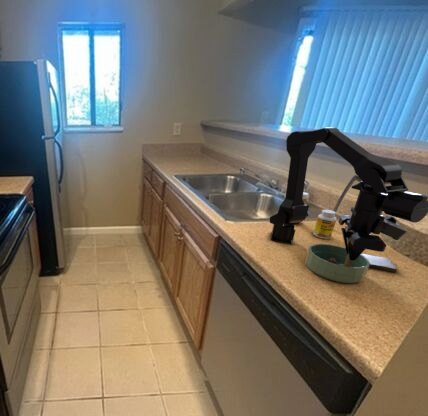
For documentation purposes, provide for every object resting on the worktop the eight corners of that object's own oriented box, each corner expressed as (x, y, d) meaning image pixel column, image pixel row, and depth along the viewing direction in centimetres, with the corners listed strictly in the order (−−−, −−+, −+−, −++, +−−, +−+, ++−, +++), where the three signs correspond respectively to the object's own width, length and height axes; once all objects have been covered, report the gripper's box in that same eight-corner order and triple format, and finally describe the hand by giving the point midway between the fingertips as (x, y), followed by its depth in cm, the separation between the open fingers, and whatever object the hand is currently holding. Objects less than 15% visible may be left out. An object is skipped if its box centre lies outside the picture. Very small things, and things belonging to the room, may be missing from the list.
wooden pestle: (338, 272, 82) (350, 239, 78) (335, 265, 85) (347, 233, 81) (356, 276, 80) (368, 242, 76) (352, 269, 83) (364, 236, 79)
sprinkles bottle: (302, 223, 117) (311, 193, 112) (297, 225, 115) (306, 195, 110) (291, 219, 121) (298, 190, 116) (286, 222, 118) (293, 192, 113)
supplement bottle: (315, 238, 104) (323, 213, 100) (310, 232, 109) (317, 208, 105) (333, 240, 102) (341, 214, 99) (327, 233, 107) (334, 209, 104)
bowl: (307, 276, 82) (312, 260, 80) (302, 254, 93) (306, 240, 91) (370, 290, 75) (377, 273, 73) (356, 265, 87) (361, 250, 85)
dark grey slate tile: (357, 264, 87) (358, 261, 87) (351, 254, 93) (352, 251, 92) (395, 272, 83) (397, 269, 82) (387, 261, 89) (388, 258, 88)
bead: (327, 264, 86) (329, 259, 85) (326, 261, 88) (328, 256, 87) (336, 266, 85) (337, 260, 84) (334, 263, 87) (336, 257, 86)
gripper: (425, 226, 64) (400, 282, 70) (395, 202, 79) (376, 249, 85) (363, 218, 69) (344, 270, 75) (345, 196, 84) (331, 241, 90)
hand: (350, 257), depth 81 cm, fingers open, 3 cm apart
